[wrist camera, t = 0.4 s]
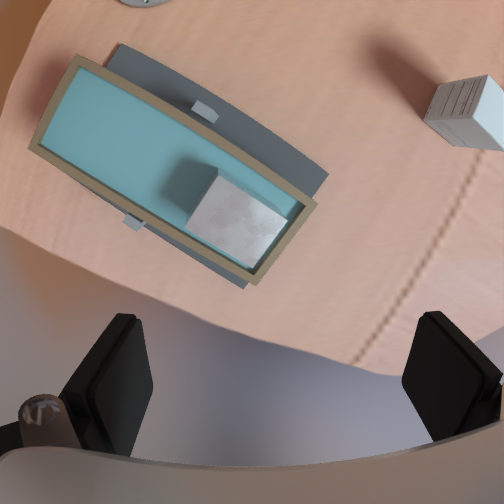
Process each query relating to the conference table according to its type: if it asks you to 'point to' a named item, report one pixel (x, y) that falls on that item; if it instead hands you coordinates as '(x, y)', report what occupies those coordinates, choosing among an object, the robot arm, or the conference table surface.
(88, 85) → the beam
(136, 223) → the stand
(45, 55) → the conference table surface
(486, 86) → the supplement box
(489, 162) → the conference table surface
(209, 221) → the steel block
